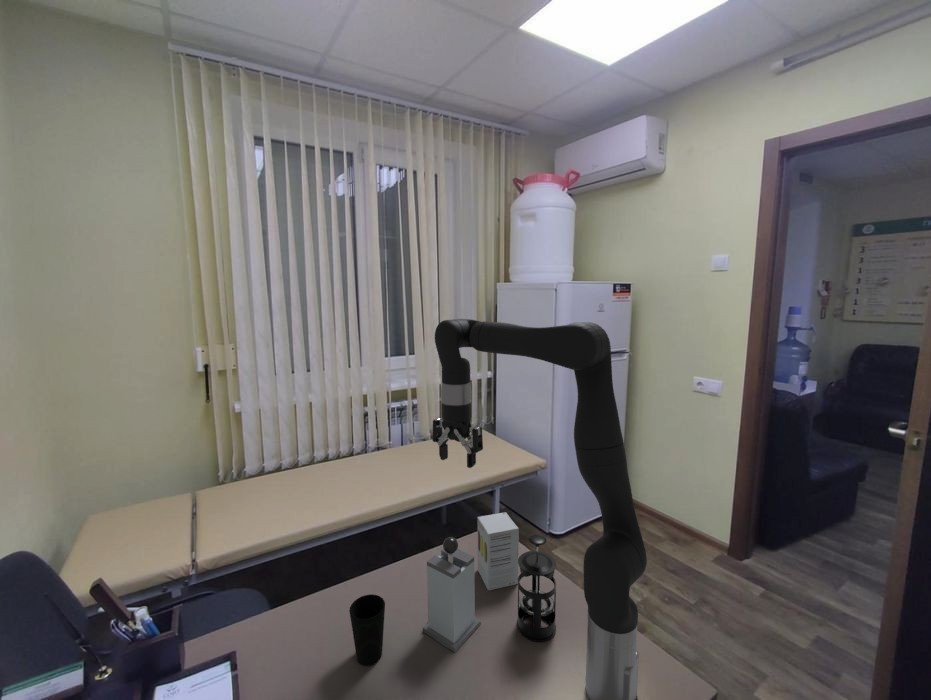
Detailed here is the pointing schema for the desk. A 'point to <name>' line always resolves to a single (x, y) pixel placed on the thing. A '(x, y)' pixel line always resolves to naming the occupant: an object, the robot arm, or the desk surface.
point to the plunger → (450, 547)
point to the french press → (536, 593)
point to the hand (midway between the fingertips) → (457, 462)
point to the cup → (368, 628)
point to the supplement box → (498, 550)
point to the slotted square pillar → (451, 599)
